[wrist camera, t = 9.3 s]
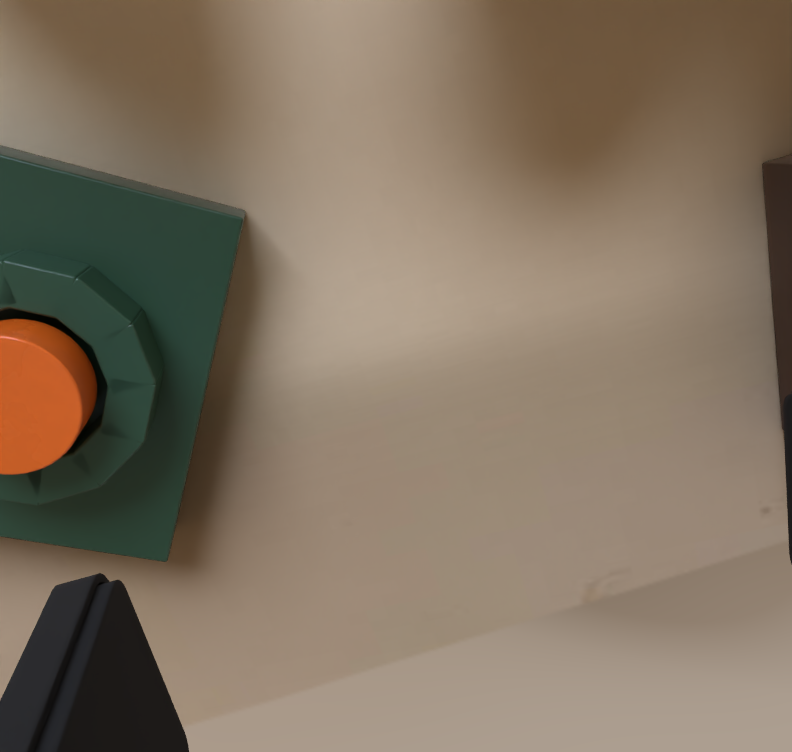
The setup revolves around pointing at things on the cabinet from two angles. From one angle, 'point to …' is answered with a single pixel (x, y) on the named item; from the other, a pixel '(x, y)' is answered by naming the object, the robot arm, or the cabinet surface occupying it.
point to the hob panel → (781, 262)
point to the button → (41, 394)
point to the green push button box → (115, 343)
